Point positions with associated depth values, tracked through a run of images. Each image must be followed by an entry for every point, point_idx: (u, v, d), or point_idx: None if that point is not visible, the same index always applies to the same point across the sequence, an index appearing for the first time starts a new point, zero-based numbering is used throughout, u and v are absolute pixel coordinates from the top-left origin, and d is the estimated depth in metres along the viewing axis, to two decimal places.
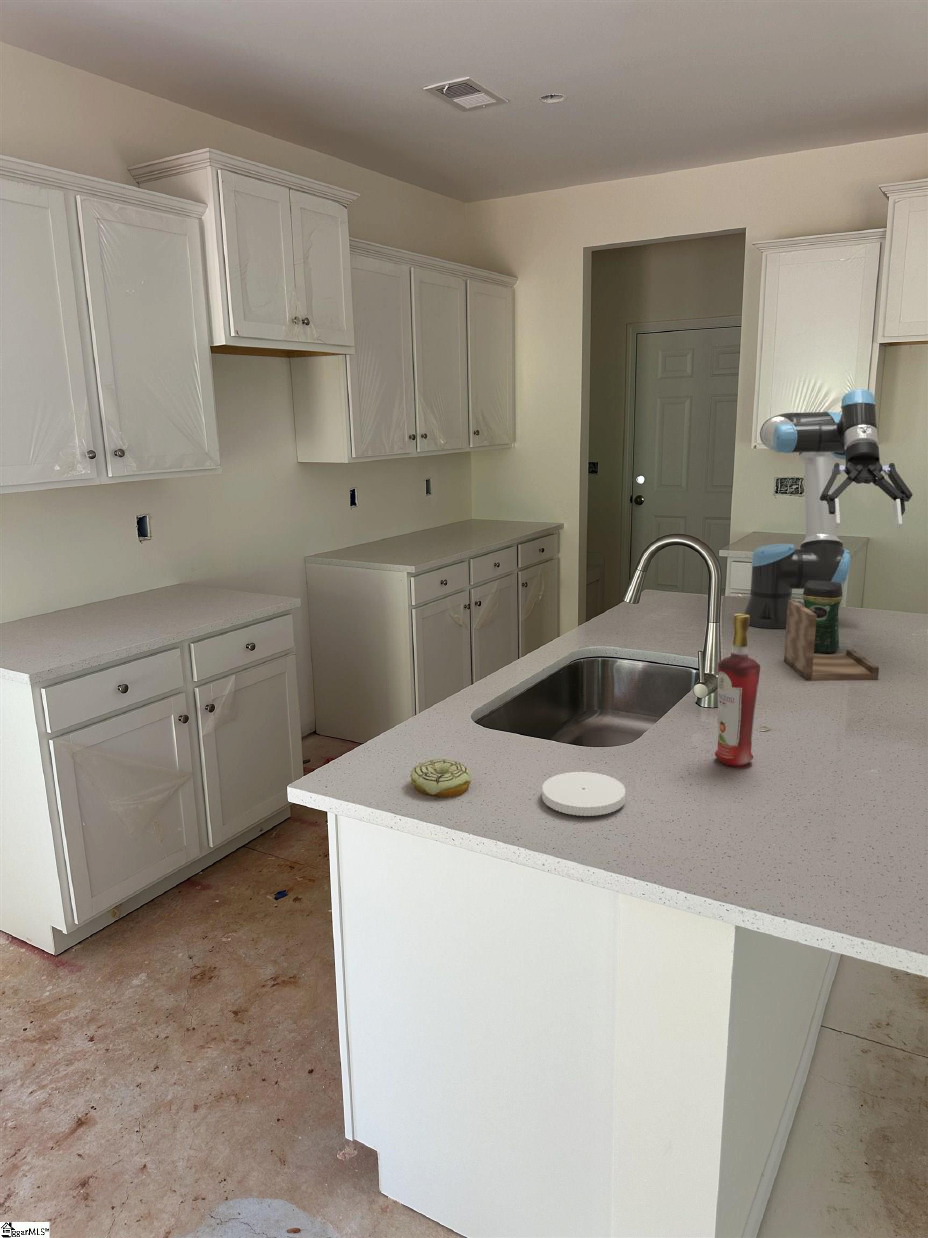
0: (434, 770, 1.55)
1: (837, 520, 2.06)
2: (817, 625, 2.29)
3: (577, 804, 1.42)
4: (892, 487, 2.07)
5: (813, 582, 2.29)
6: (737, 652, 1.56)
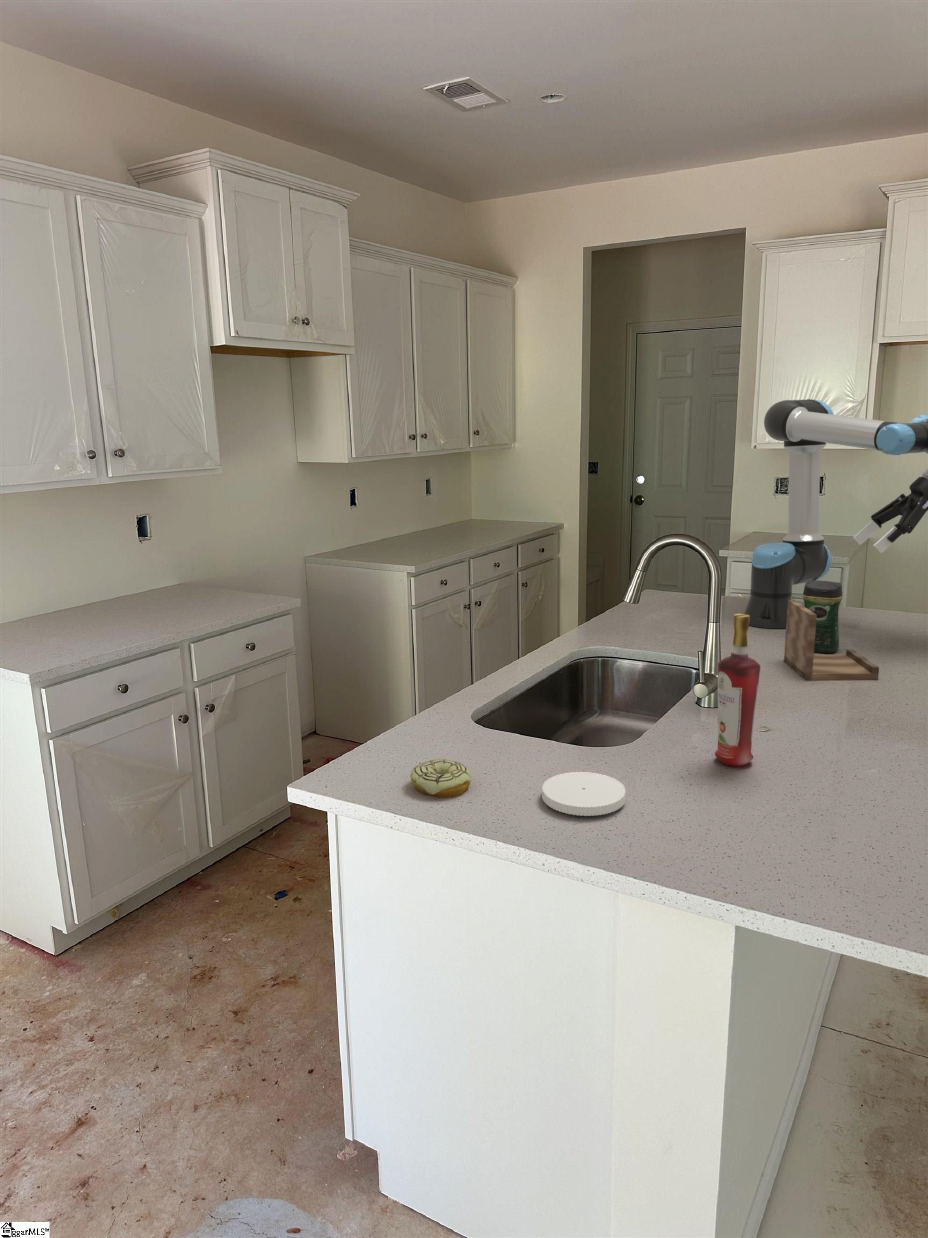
0: (434, 770, 1.55)
1: None
2: (817, 625, 2.29)
3: (577, 804, 1.42)
4: None
5: (813, 582, 2.29)
6: (737, 652, 1.56)
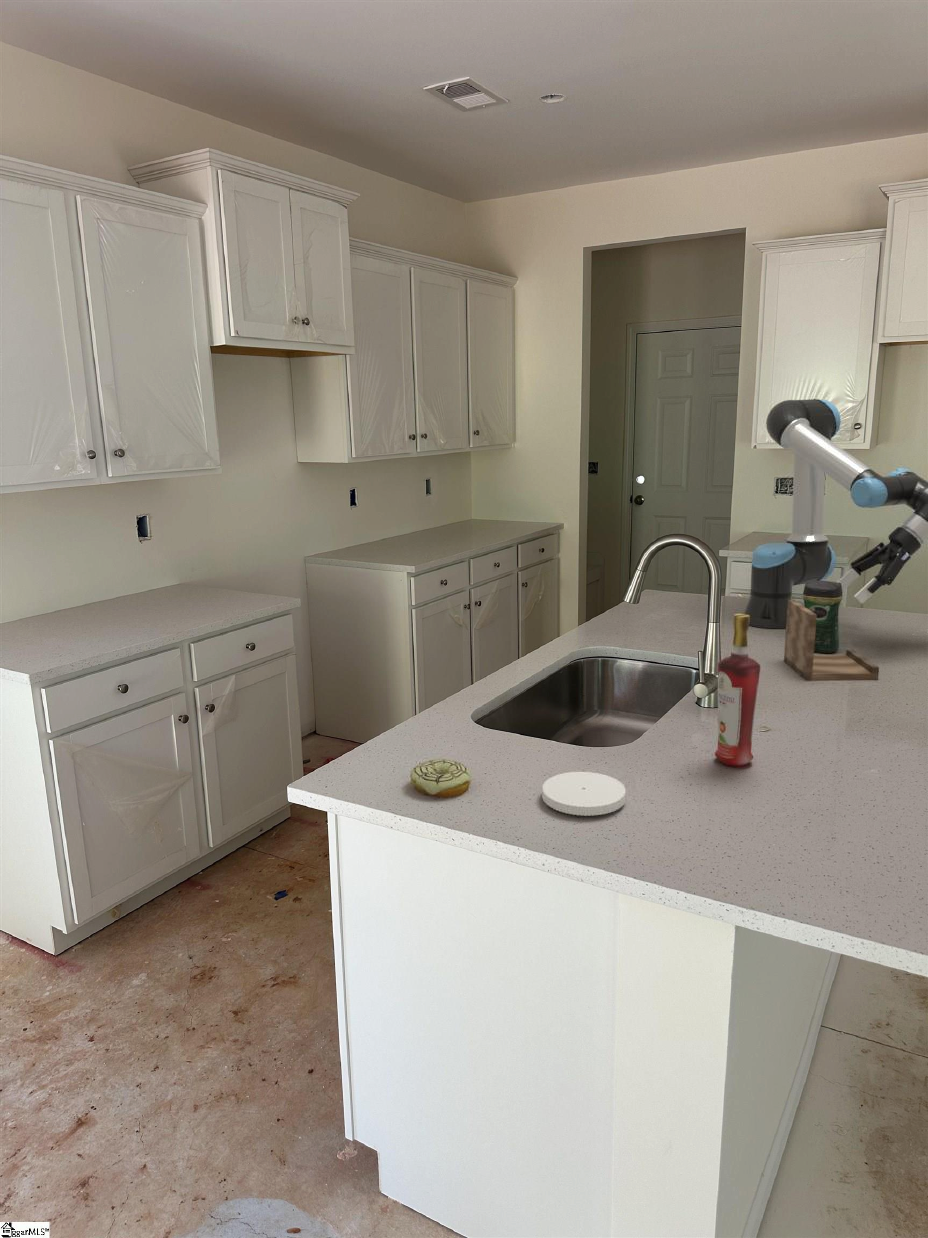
0: (434, 770, 1.55)
1: (863, 601, 2.22)
2: (817, 625, 2.29)
3: (577, 803, 1.42)
4: None
5: (813, 582, 2.29)
6: (737, 652, 1.56)
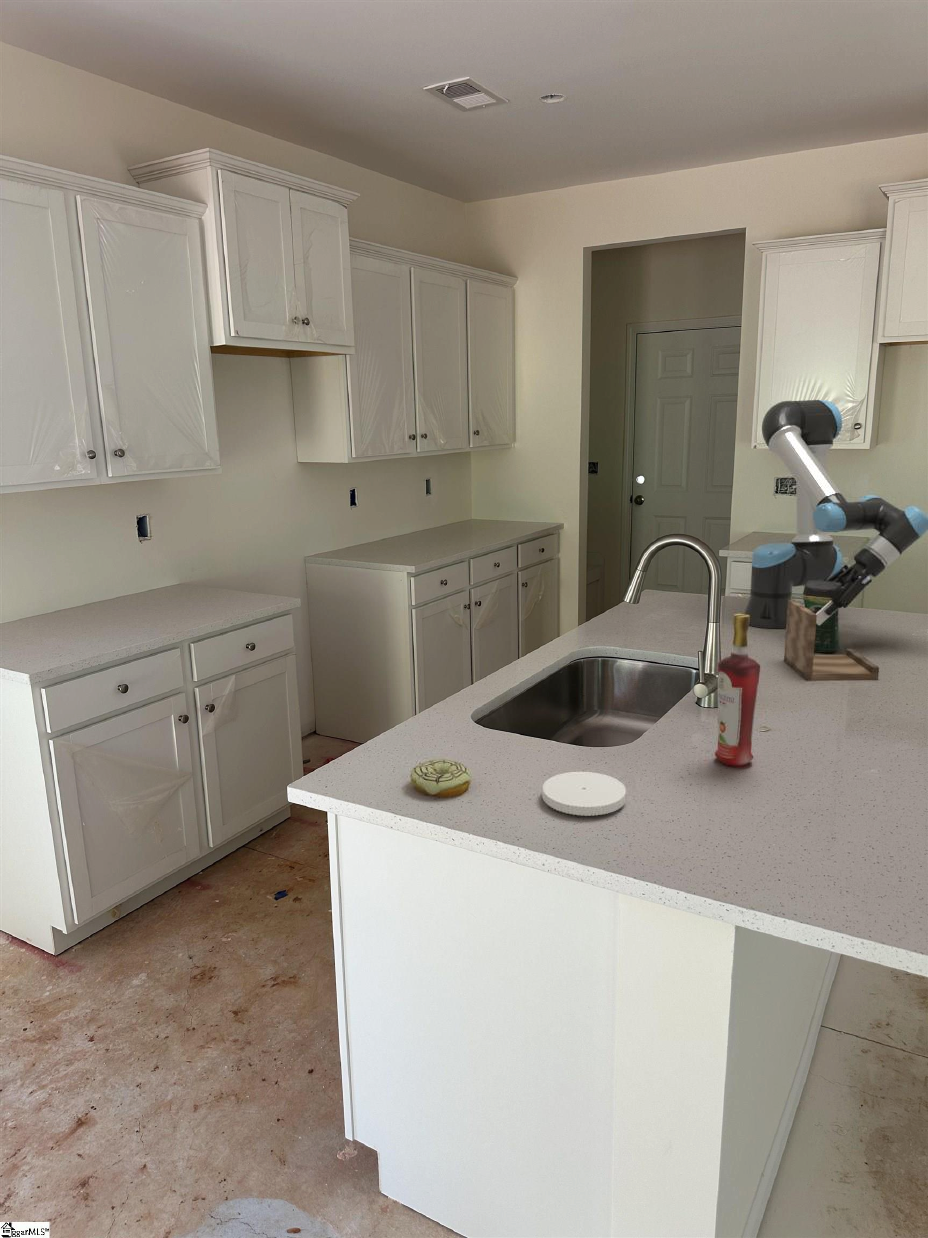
0: (434, 771, 1.55)
1: (820, 623, 2.27)
2: (817, 625, 2.29)
3: (577, 803, 1.42)
4: None
5: (813, 582, 2.29)
6: (737, 652, 1.56)
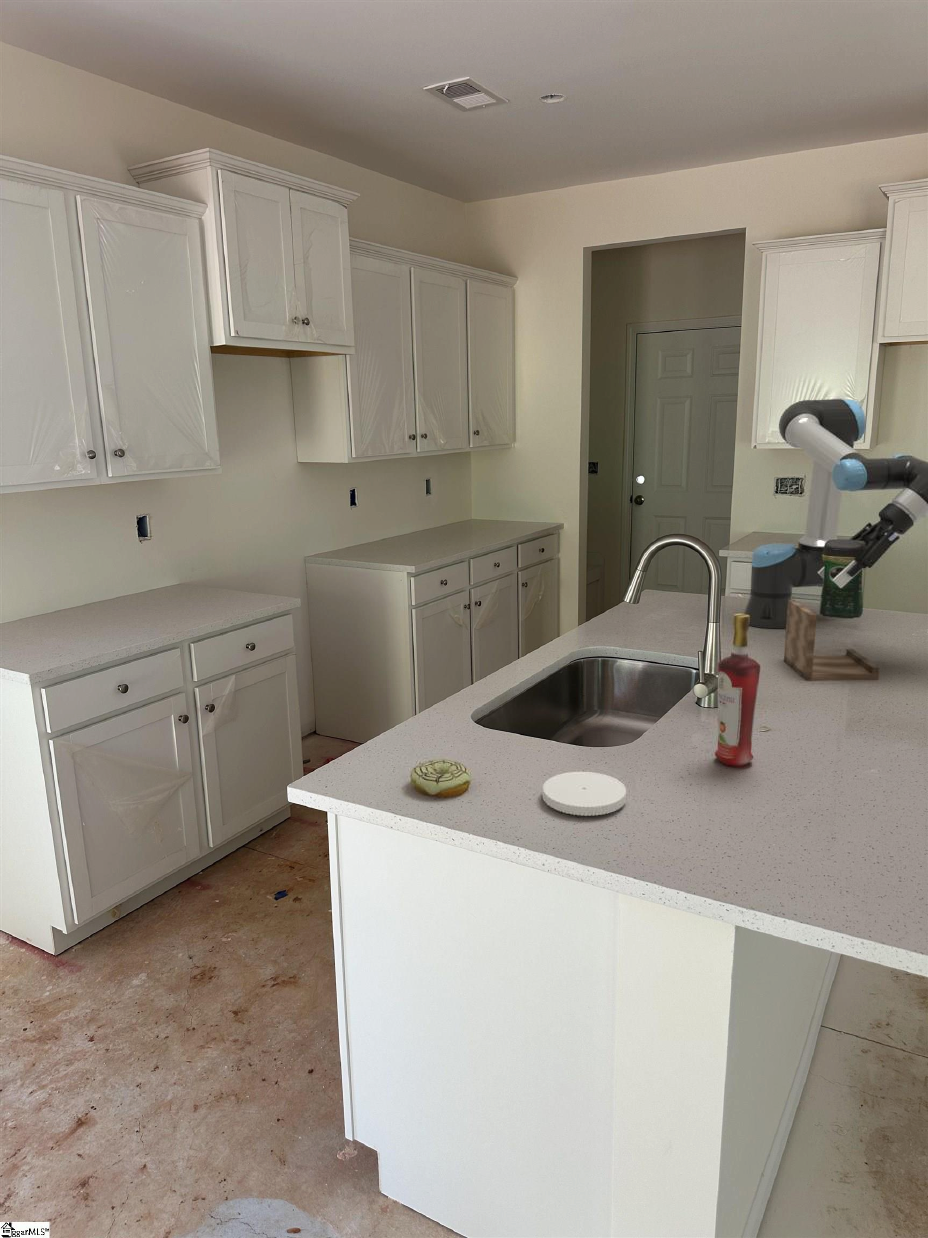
0: (434, 771, 1.55)
1: (842, 586, 2.05)
2: (839, 588, 2.07)
3: (577, 803, 1.42)
4: None
5: (834, 541, 2.08)
6: (737, 652, 1.56)
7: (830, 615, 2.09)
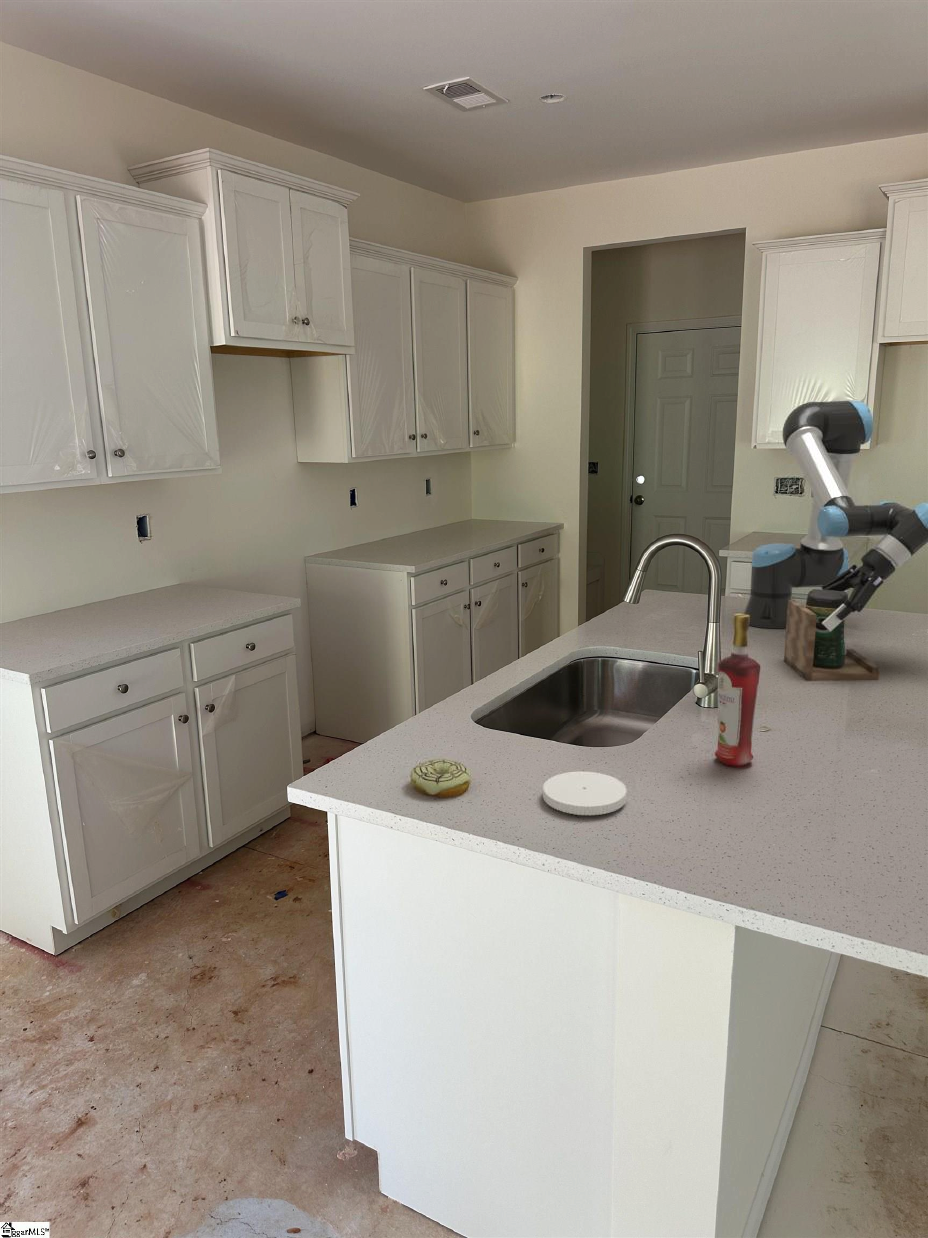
0: (434, 771, 1.55)
1: None
2: (821, 638, 2.11)
3: (578, 803, 1.42)
4: None
5: (817, 591, 2.12)
6: (737, 652, 1.56)
7: (813, 664, 2.13)
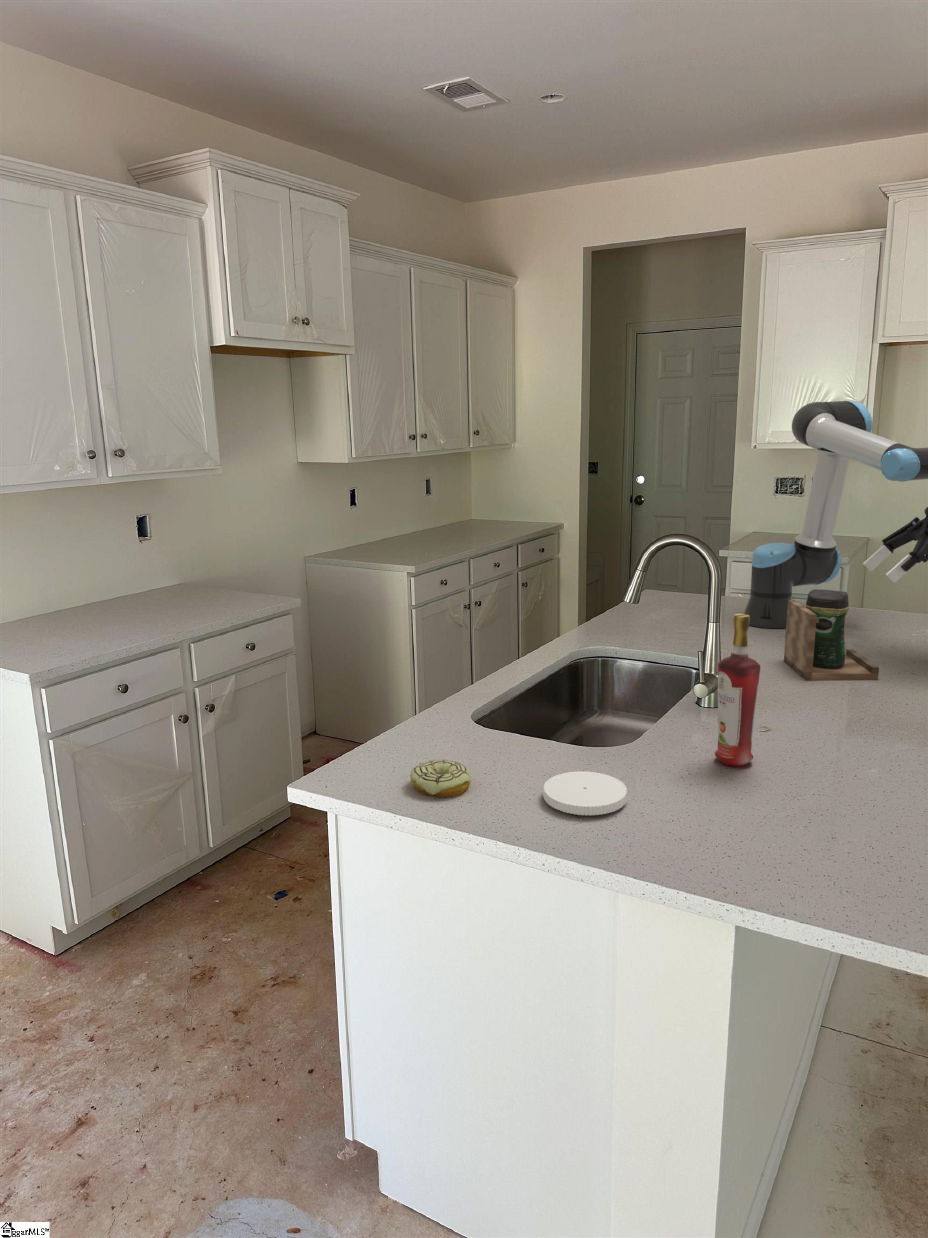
0: (434, 771, 1.55)
1: (896, 580, 2.04)
2: (821, 638, 2.11)
3: (578, 803, 1.42)
4: None
5: (817, 591, 2.11)
6: (737, 652, 1.56)
7: (813, 664, 2.13)
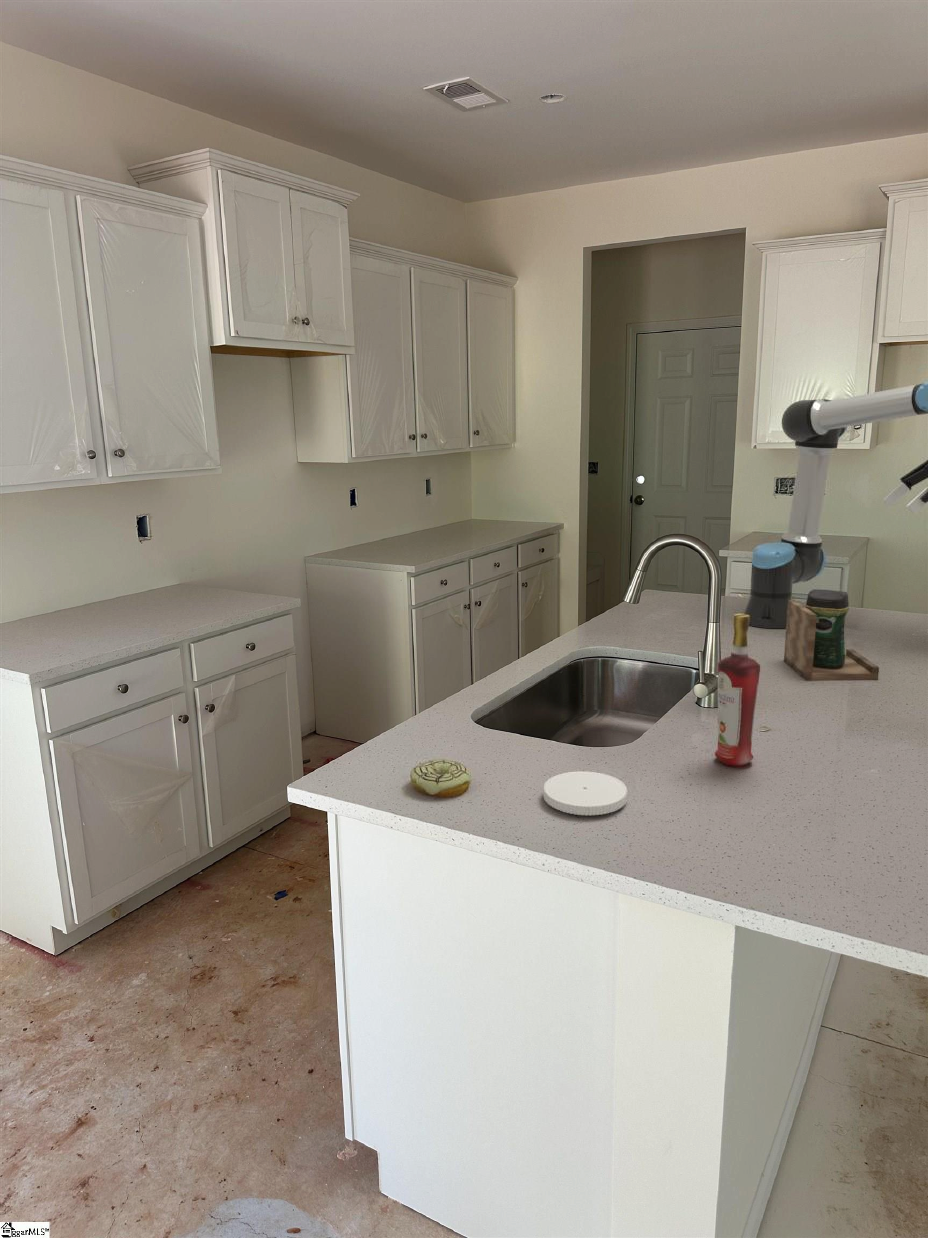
0: (434, 771, 1.55)
1: (915, 511, 2.17)
2: (821, 638, 2.11)
3: (578, 803, 1.42)
4: None
5: (817, 591, 2.11)
6: (737, 652, 1.56)
7: (813, 664, 2.13)
